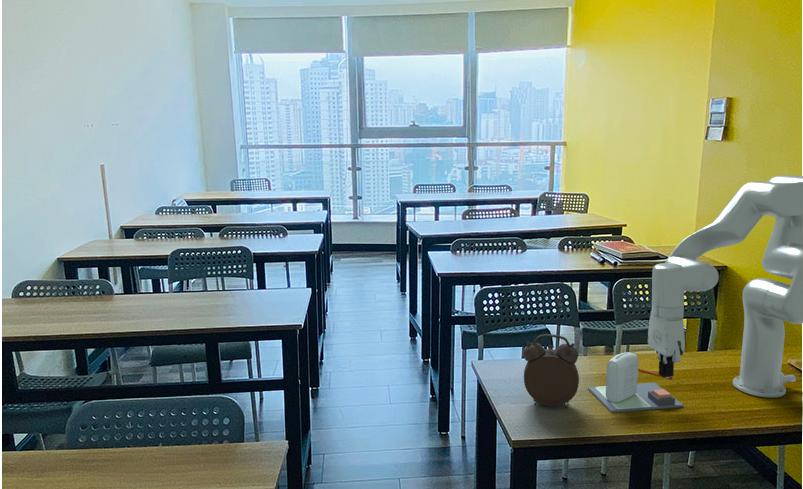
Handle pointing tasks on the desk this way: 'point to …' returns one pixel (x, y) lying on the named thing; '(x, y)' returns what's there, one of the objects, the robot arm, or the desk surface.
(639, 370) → the pencil
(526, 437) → the desk surface
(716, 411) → the desk surface
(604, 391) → the activity board
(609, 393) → the photo printer
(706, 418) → the desk surface
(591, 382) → the desk surface
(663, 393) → the button
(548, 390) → the alarm clock
